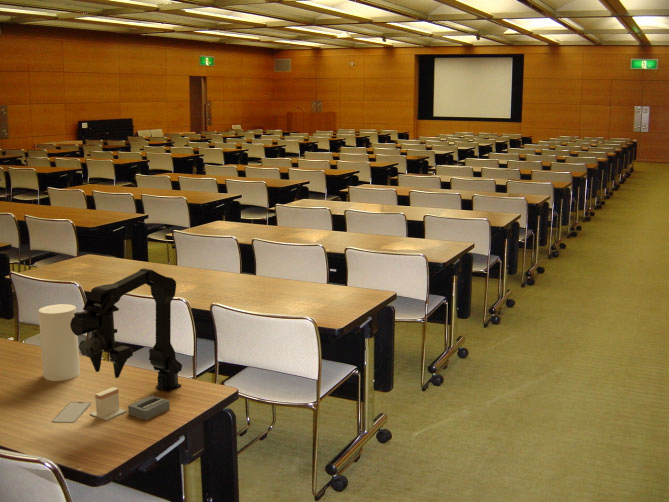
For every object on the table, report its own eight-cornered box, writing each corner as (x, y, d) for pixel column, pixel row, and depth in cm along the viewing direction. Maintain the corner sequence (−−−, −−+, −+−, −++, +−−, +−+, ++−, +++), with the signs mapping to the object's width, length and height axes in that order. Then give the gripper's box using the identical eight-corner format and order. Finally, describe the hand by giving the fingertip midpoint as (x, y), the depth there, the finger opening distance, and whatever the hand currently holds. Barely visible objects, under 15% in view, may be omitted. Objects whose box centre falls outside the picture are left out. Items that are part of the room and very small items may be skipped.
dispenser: (152, 403, 231) (151, 394, 230) (169, 409, 227) (169, 399, 226) (128, 414, 223) (127, 404, 222) (146, 420, 219) (145, 410, 218)
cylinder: (78, 379, 252) (73, 312, 247) (40, 382, 249) (35, 314, 244) (82, 367, 263) (77, 303, 259) (46, 370, 261) (41, 305, 256)
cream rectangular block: (114, 407, 227) (113, 387, 226) (119, 409, 226) (118, 388, 224) (96, 414, 221) (95, 394, 220) (101, 416, 220) (100, 395, 219)
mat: (109, 406, 229) (109, 404, 229) (126, 411, 225) (126, 410, 225) (89, 414, 222) (89, 413, 222) (106, 420, 218) (106, 419, 218)
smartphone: (50, 421, 217) (69, 401, 231) (50, 423, 217) (69, 403, 231) (74, 422, 216) (92, 402, 231) (74, 424, 217) (92, 404, 231)
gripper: (63, 328, 217) (66, 376, 220) (103, 339, 207) (106, 389, 210) (93, 319, 226) (95, 366, 229) (132, 329, 216) (135, 377, 219)
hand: (107, 374), depth 221 cm, fingers open, 9 cm apart
